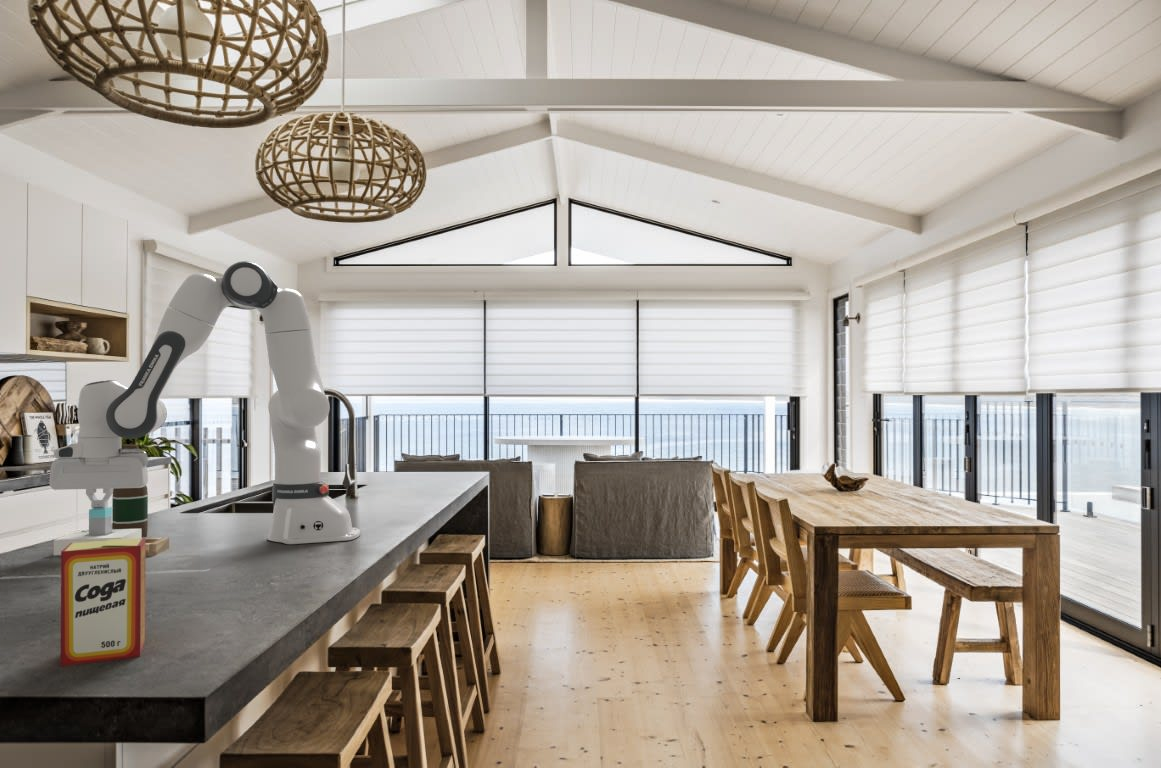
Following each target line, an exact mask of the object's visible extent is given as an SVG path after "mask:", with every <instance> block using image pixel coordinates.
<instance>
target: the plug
mask: <svg viewBox="0 0 1161 768" xmlns="http://www.w3.org/2000/svg"><path fill="white" fill-rule="evenodd" d="M88 530H89V536H105V535H109V534H111V533H112V506H108V507H107V508H90V509H88Z"/></svg>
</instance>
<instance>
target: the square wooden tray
mask: <svg viewBox="0 0 1161 768" xmlns="http://www.w3.org/2000/svg"><path fill="white" fill-rule="evenodd" d="M145 538H146V551H145V557H148V556H158V555H159V554H162V553H163V552H165V551H167V550H169V549H170V537H145Z"/></svg>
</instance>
